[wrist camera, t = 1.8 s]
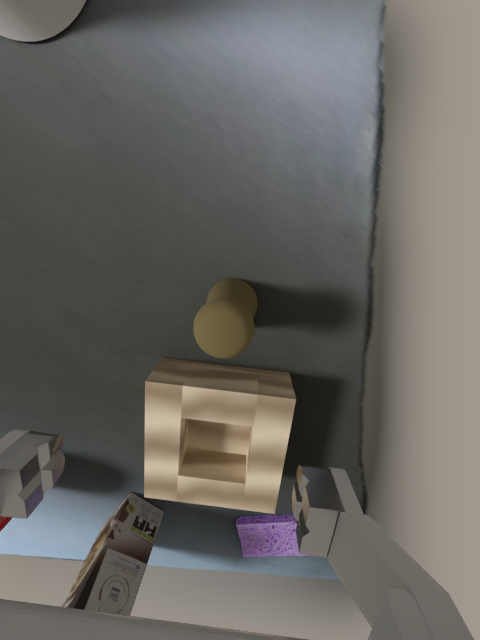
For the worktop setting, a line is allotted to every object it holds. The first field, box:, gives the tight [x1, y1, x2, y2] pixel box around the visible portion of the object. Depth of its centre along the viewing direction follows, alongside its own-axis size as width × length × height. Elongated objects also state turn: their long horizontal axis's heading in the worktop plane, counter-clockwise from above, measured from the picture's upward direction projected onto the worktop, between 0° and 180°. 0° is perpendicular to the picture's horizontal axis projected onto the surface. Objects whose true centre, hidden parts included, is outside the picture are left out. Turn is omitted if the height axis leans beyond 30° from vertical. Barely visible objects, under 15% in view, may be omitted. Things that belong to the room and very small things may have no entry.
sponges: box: [236, 514, 312, 557], centre depth 42 cm, size 7×13×2 cm, turn 98°
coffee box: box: [61, 493, 164, 616], centre depth 35 cm, size 9×6×16 cm
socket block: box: [144, 358, 296, 514], centre depth 34 cm, size 16×16×6 cm
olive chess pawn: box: [194, 278, 258, 358], centre depth 27 cm, size 6×6×11 cm
